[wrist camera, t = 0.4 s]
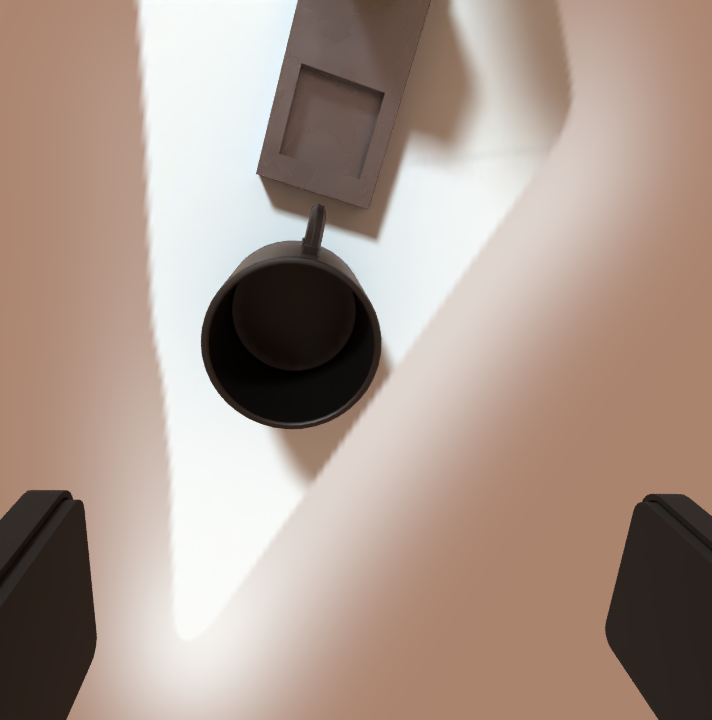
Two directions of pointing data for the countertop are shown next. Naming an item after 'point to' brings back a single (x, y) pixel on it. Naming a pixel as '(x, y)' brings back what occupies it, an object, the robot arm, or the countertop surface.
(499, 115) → the countertop surface
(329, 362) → the mug
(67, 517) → the robot arm
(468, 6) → the countertop surface
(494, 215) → the countertop surface
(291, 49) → the grey slotted board
